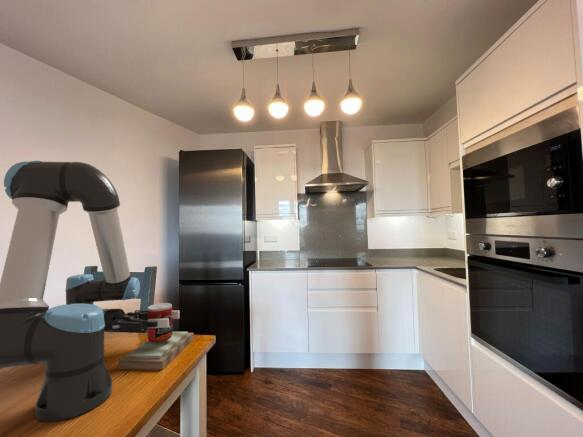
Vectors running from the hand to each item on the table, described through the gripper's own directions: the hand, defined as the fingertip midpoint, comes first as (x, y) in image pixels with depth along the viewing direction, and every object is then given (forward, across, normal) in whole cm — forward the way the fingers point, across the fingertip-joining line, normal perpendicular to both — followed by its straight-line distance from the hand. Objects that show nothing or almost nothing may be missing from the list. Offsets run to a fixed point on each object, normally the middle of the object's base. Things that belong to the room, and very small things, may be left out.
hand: (173, 318), depth 94 cm
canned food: (-5, 0, -7) cm, 8 cm away
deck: (-5, 0, -12) cm, 12 cm away
